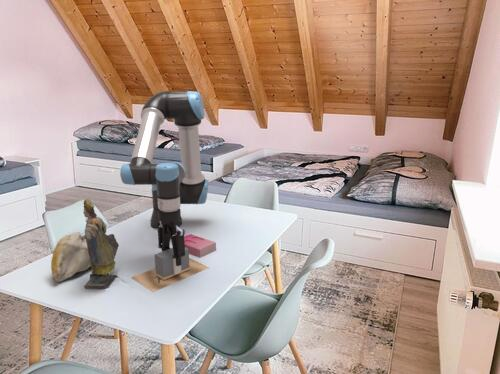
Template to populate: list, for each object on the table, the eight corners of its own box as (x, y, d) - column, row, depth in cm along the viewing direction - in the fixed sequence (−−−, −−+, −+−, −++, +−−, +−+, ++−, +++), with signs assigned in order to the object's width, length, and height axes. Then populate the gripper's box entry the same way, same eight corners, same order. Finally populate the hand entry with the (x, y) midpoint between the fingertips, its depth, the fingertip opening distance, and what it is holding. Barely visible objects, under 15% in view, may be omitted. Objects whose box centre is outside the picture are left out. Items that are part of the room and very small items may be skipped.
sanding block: (181, 265, 146) (180, 245, 144) (189, 269, 143) (188, 249, 141) (155, 275, 138) (154, 254, 136) (163, 279, 135) (162, 258, 133)
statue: (95, 269, 146) (86, 191, 138) (123, 269, 145) (116, 191, 137) (76, 290, 131) (65, 204, 123) (108, 290, 131) (99, 204, 123)
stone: (122, 258, 153) (70, 272, 130) (98, 272, 158) (44, 289, 135) (106, 224, 156) (53, 232, 132) (83, 239, 160) (28, 250, 137)
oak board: (186, 258, 154) (186, 256, 154) (209, 270, 145) (209, 267, 145) (131, 280, 138) (130, 277, 137) (153, 294, 128) (153, 291, 128)
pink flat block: (182, 230, 171) (216, 242, 159) (182, 241, 172) (216, 253, 161) (165, 237, 164) (199, 249, 152) (166, 247, 165) (200, 260, 154)
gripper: (145, 205, 138) (149, 266, 144) (176, 217, 126) (179, 283, 132) (163, 200, 143) (166, 259, 149) (194, 212, 131) (197, 275, 137)
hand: (172, 270), depth 140 cm, fingers open, 5 cm apart
